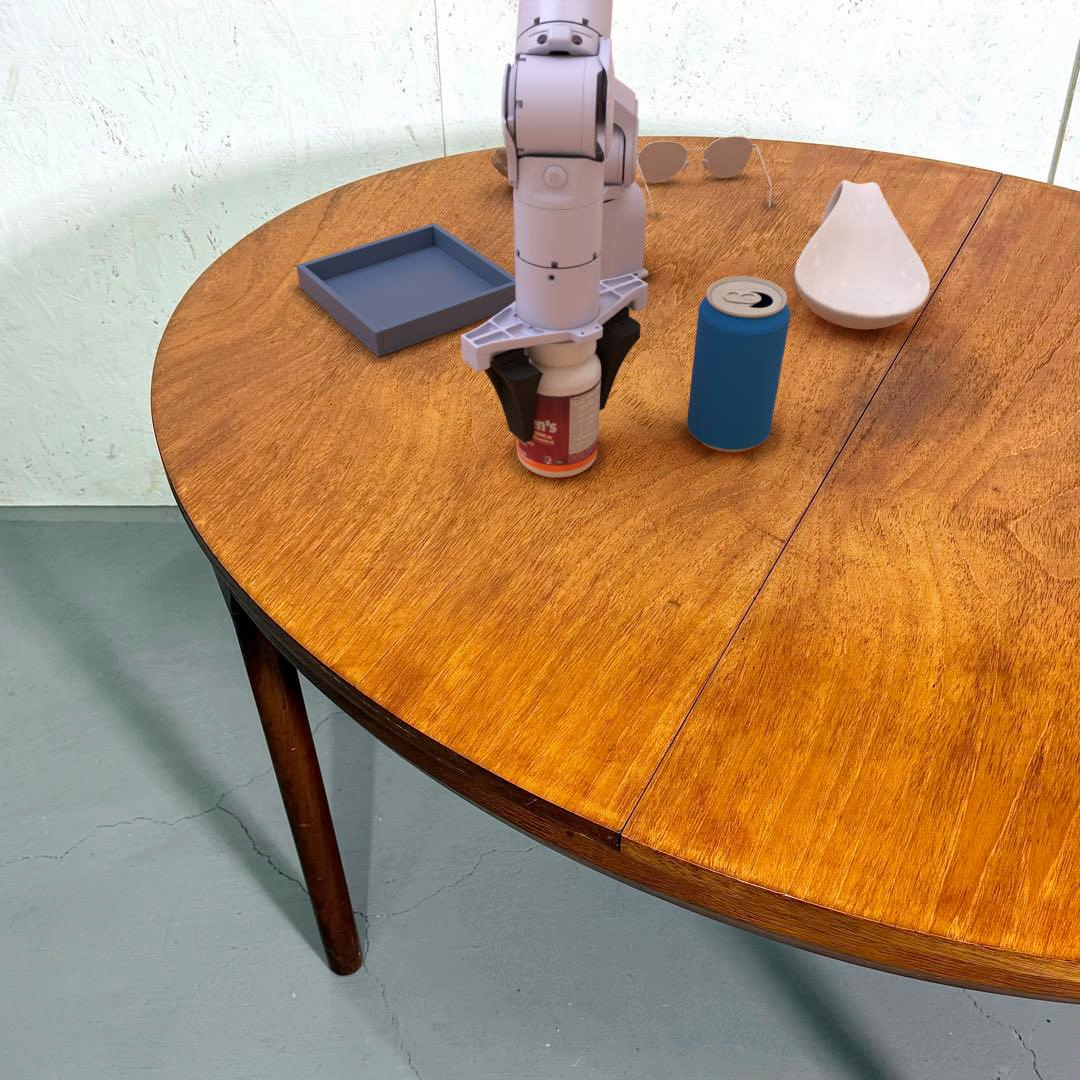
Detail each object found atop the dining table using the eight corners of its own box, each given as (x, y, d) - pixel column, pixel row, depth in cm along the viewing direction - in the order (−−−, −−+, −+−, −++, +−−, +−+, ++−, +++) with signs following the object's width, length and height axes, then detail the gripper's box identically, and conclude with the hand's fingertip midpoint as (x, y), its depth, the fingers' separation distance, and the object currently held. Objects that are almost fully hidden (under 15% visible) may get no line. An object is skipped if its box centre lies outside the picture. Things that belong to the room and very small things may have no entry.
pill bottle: (500, 458, 81) (495, 327, 73) (552, 422, 84) (552, 293, 77) (563, 491, 78) (564, 358, 70) (614, 452, 81) (621, 321, 74)
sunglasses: (750, 175, 120) (758, 134, 116) (772, 218, 114) (781, 176, 111) (630, 184, 118) (634, 142, 114) (646, 228, 113) (651, 186, 109)
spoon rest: (928, 353, 91) (949, 277, 87) (790, 344, 93) (803, 268, 88) (899, 231, 109) (915, 162, 104) (783, 224, 110) (793, 156, 105)
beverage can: (767, 462, 80) (791, 322, 72) (681, 453, 81) (696, 313, 73) (771, 414, 85) (794, 277, 77) (690, 405, 86) (704, 269, 78)
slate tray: (436, 244, 107) (435, 222, 106) (522, 305, 98) (522, 281, 96) (300, 288, 101) (296, 264, 99) (378, 357, 92) (375, 332, 90)
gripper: (500, 305, 64) (506, 482, 73) (682, 241, 70) (666, 411, 79) (439, 261, 68) (451, 433, 77) (615, 204, 75) (608, 369, 84)
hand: (557, 419), depth 79 cm, fingers closed on pill bottle, 6 cm apart
